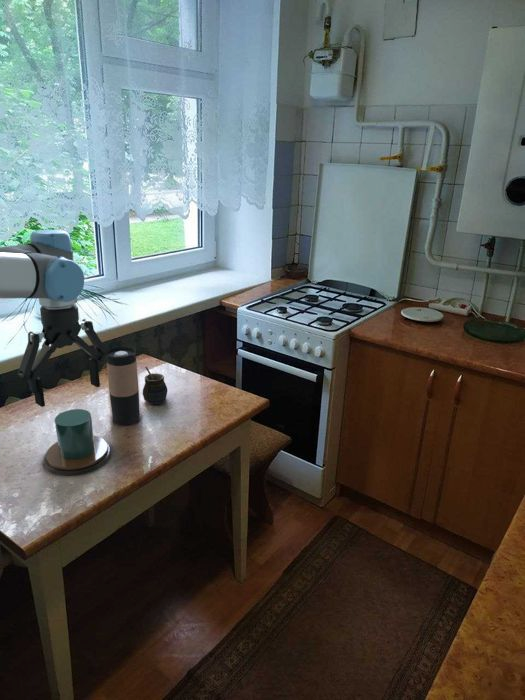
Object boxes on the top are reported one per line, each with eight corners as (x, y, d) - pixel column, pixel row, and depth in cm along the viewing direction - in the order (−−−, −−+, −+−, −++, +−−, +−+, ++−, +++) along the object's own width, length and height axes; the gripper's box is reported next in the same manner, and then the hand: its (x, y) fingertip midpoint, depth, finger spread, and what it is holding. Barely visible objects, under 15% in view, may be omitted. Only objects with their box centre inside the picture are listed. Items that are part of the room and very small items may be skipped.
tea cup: (119, 453, 119) (115, 418, 116) (63, 478, 110) (57, 440, 106) (90, 431, 128) (86, 397, 125) (35, 452, 119) (30, 416, 115)
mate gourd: (156, 409, 142) (154, 378, 138) (136, 402, 146) (134, 371, 142) (172, 400, 148) (171, 369, 144) (154, 393, 152) (152, 363, 148)
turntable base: (67, 483, 110) (67, 480, 109) (31, 458, 118) (31, 455, 118) (123, 454, 121) (122, 451, 120) (86, 433, 129) (86, 430, 129)
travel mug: (107, 417, 137) (100, 350, 130) (131, 409, 142) (126, 344, 134) (120, 428, 132) (114, 359, 124) (145, 419, 137) (141, 352, 129)
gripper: (99, 291, 116) (106, 373, 124) (-10, 312, 98) (6, 407, 106) (119, 297, 112) (124, 382, 120) (7, 321, 94) (23, 419, 102)
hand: (69, 394), depth 113 cm, fingers open, 13 cm apart
